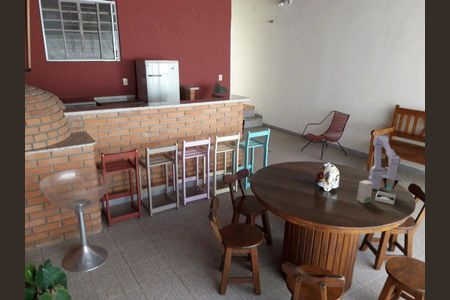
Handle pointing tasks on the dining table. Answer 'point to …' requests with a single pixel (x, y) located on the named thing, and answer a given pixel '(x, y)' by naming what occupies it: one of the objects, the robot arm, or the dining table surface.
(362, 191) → the skincare box
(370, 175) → the robot arm
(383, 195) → the white square frame
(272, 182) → the dining table surface
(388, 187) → the ball
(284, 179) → the dining table surface
